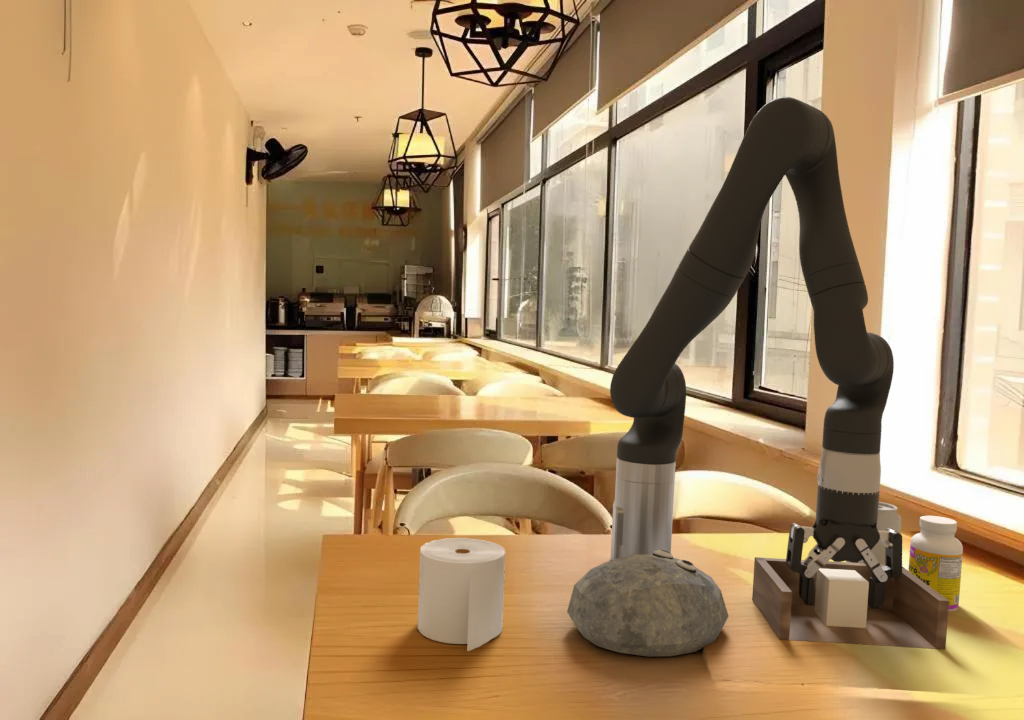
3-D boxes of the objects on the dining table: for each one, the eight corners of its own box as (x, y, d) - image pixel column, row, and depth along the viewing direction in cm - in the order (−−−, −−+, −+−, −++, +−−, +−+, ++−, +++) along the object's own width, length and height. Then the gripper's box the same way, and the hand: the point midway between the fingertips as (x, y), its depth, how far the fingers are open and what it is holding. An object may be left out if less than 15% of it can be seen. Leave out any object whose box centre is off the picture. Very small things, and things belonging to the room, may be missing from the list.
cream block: (826, 625, 106) (829, 580, 106) (814, 611, 111) (817, 568, 111) (865, 628, 106) (868, 582, 105) (851, 613, 111) (854, 570, 110)
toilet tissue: (464, 606, 110) (466, 533, 109) (527, 634, 101) (531, 554, 101) (399, 625, 102) (402, 547, 102) (462, 657, 94) (466, 571, 93)
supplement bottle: (896, 599, 120) (902, 513, 119) (939, 600, 120) (945, 513, 119) (923, 616, 113) (929, 525, 112) (968, 617, 114) (975, 526, 113)
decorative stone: (544, 617, 107) (547, 542, 107) (679, 602, 115) (683, 532, 115) (608, 675, 91) (612, 587, 91) (760, 653, 99) (765, 571, 98)
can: (887, 573, 132) (892, 500, 131) (904, 588, 125) (910, 511, 124) (839, 570, 133) (843, 497, 132) (853, 585, 125) (858, 508, 125)
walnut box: (778, 645, 101) (782, 591, 101) (751, 604, 115) (754, 557, 114) (945, 655, 100) (949, 600, 99) (897, 613, 114) (900, 565, 113)
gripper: (801, 487, 104) (794, 612, 105) (916, 493, 103) (907, 619, 104) (785, 475, 111) (778, 592, 112) (892, 481, 111) (884, 598, 112)
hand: (840, 605), depth 108 cm, fingers open, 8 cm apart
